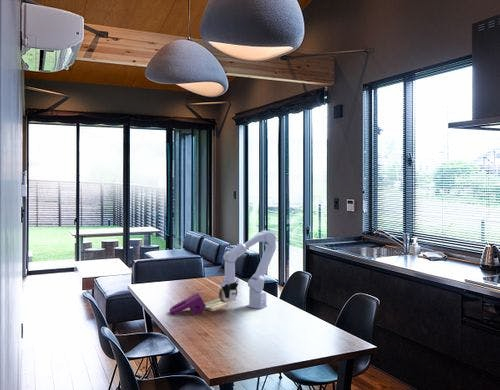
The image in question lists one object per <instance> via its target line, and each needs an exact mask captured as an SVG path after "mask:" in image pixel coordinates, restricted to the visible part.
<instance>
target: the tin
mask: <svg viewBox="0 0 500 390" xmlns="http://www.w3.org/2000/svg"><path fill="white" fill-rule="evenodd" d="M237 295H238V287H237V288H236V297H237ZM218 299H221V302H224V303H228V302H229V301H224V291H223V289H222V288H220V289H219V292H218Z"/></svg>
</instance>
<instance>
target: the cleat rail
mask: <svg viewBox="0 0 500 390" xmlns="http://www.w3.org/2000/svg"><path fill="white" fill-rule="evenodd" d="M203 303H204V302H203ZM228 304H229V303H228V302H222V301H221V299H219V298H216V299H214V300H210V301H207V302H205V303H204V305H205V310H204V311H210V312H214V311H215V312H216V311H218V310H219V309H222V308H225V307H228Z"/></svg>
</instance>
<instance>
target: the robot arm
mask: <svg viewBox="0 0 500 390" xmlns="http://www.w3.org/2000/svg"><path fill="white" fill-rule="evenodd" d="M276 240H277V236H276V234H275V233H274V232H273V231H269V230H266V229H262V230H261V231H260V232H257V234H255V235H254V236H253V237H251V238H250V239H249V240H247V241H246V242H245V243H237V244H236V246H235V247H233V248H230V249H229V250H227V251H225V252H224V254H223V256H222V258H223V260H224V279H223V281H222V282H220V287H221V289H223V291H224V294H225V298H229V294H230V289H231V290H236V288H237V289H238V286H239V278H237V277H236V261H237V259H238V258H239V257H241V256H242V255H244V254H245V253H247V251H248V249H249V248H251V247H252V246H255V245H256V244H257V243H263V244H264V246H265V250H264V251H263V255H262V257H261V259H260V261H259V263H258V266H257V268H256V271H255V273H254V274H252V276H251V277H250V279H248V281H247V286H248V288H249V289H248V290H249V291H248V292H249V293H248V294H249V297H248V298H249V300H248V304H247V305H246V307H248V308H252V309H257V310H261V309H263V308H266V307H267V306H268V305H267V293H266V292H264V291H263V290H264V286H265V275H266V273H267V270H268V268H269V266H270V264H271V261H272V258H273V256H274V253H275V251H276V250H277V249H276V248H277V244H276V243H277V241H276Z"/></svg>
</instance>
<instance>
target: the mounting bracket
mask: <svg viewBox="0 0 500 390" xmlns="http://www.w3.org/2000/svg"><path fill="white" fill-rule="evenodd" d="M187 309H190V311H191V313H192V314H193V315H201V314H203V313H204V312H205V311H206V310H205V305H204V301H203V299H202V296H201V295H200V293H199V292H197V293H195V294H193V295H191V296H189V297H187V298H186V299H183V300H182V301H180V302H178V303H176V304H174V305H173V306H172V307H170V308H169V313H170V314H171V315H177V314H179V313H181V312H182V311H185V310H187Z"/></svg>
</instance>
